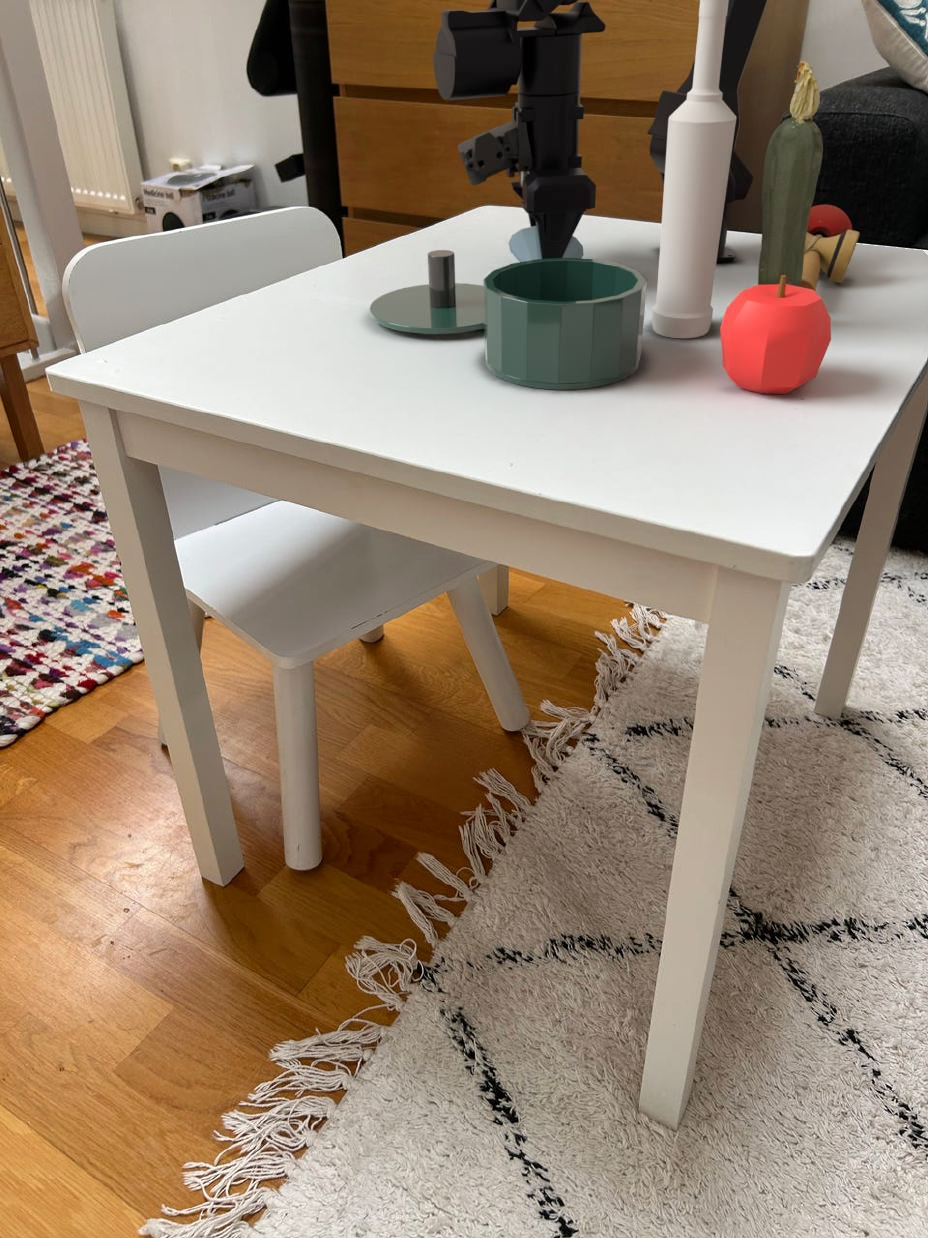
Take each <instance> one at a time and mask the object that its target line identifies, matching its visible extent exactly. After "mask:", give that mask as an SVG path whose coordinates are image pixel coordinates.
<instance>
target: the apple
mask: <svg viewBox="0 0 928 1238" xmlns="http://www.w3.org/2000/svg"><path fill="white" fill-rule="evenodd" d="M719 327H720V328H719V329H720V343H721V355H722V358H721V359H722V367H723V368H724V370H725V372H726V374H727V376H728V378H729V379H730V381H732V382H733V383H734V384H735V385H736V386H737V387H738V388H740V389H742V390H746V391H749V392H753V393H758V394H763V395H764V394H768V395H786V394H788V393H790V392H792V391H794V390H795V389H797V388H800V387H801V386H802V385H804V384H807V382H809V381H811V380H813V379H815V378H816V376H817V375H818V373H819V370H820V369H821V365H822V363H823V361H824V357H825V355H826V353H827V350H828V349H829V347H830V344H831V341H832V318H831V316H830V314H829V312H828V310H827V307H826V305H825V302H824V301H823V299H822V297H821V296H820V295H819V294H818V293H817V291H816V292H815V291H814V290H812V289H807V288H803V287H798V286H793V285H789V284H786V275H782V276H781V279H780V283H779V284H770V285H758V284H756V285H754V286H751V287H748V288H745V289H743V290H741V291H740V292H739V293H738V294H737V295H736V297H735V298H734V299H733V300H732V301H731V302H730V304H729V305H728V306H726V310H725V312H724V315H723V319H722V321H721V325H720V326H719Z"/></svg>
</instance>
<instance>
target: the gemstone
mask: <svg viewBox="0 0 928 1238" xmlns="http://www.w3.org/2000/svg"><path fill="white" fill-rule="evenodd" d="M508 247H509V251H510V253H511V254H512V255H513V256H514V257H515V259H516V260H517V261H518V263H519V262H525V261H531V260H536V259H542V258H541V252H540V245H539V238H538V232H537V226H533V227H531V226H528V227H525V228H521V229H519V230H518V231H517V232H514V233H513V234H512V235H511V236H510V239H509V241H508ZM584 254H585V253H584V245H582V243H581V242H580V241H579V239H578V238H577V237H575V236H574V235H573V236H572V238H571V240H570V242H569V244H568V247H567V249H566V251H565V253H564V255H563V258H580V259H583V257H584Z"/></svg>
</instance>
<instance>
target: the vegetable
mask: <svg viewBox="0 0 928 1238" xmlns="http://www.w3.org/2000/svg"><path fill="white" fill-rule="evenodd" d="M798 67H799V69H798V71H797V75H796V79H795V80H794V83H796V86H795V89H794V93H793V95H792V97H791V101H790V105H789V113H790V114H791V117H788V118H786V119H785V120H784V121H782V123H780V124H779V125H778V127H777V128H776V129H775V130H774V132H773V133H772V135H771V137H770V139H769V142H768V146H767V149H766V151H765V157H764V162H763V176H762V184H761V207H762V228H761V229H762V230H761V243H760V251H759V252H760V253H759V254H760V255H759V260H758V280H757V282H758V283H757V285H770V284H779V283H780V279H781V276H782V275H786V284H789V285H793V286H798V287H800V284H801V279H802V273H803V262H804V247H805V240H806V234H807V227H808V221H809V215H810V210H811V207H813V202H814V199H815V194H816V188H817V185H818V184H817V183H818V180H819V179H818V178H819V175H820V171H821V167H822V162H823V156H824V155H823V153H824V142H823V135H822V133H821V130H820V128H819V126H818V125H817V124H816V123H815V122H814V121H813V119H814V118H813V116H814V115H815V114H816V113H817V111H818V109H819V107H820V103H821V99H820V98H821V94H820V88H819V84H818V83H817V82H818V81H817V78H816V77H815V76H814V75H813V66H812V65H811V64H810V63H808V62H807V61H805V60H803V59H802V60H800V61H799V64H798V65H796V68H798Z"/></svg>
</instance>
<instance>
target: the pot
mask: <svg viewBox="0 0 928 1238" xmlns="http://www.w3.org/2000/svg"><path fill="white" fill-rule="evenodd" d="M647 285H648V280H647V279H646V277H645V276H644V275H643V274H642V272H641V271H639V270H638V269H635V268H633V267H630V266H628V265H625V264H624V263H623V264H622V263H619V262H613V261H607V260H603V259H602V260H601V259H596V258H581V259H580V258H552V259H536V260H531V261H525V262H519V261H518V262H513V263H510V264H508V265H504V266H501V267H498V268H496V269H494V270H492V271H491V272H490V273H488V275H487V276H486V277H484V278H483V286H484V329H483V331H484V332H483V333H484V355H485V356H484V357H485V365H486V367H487V370H489V372H490V373H492V374H493V375H494V376H496V377H498V378H500V379H501V380H503V381H505V382H508V383H511V384H515V385H519V386H523V387H527V388H528V387H529V388H535V389H540V390H541V389H542V390H556V391H557V390H558V391H559V390H561V391H563V390H564V391H565V390H568V391H569V390H584V389H585V390H586V389H591V388H599V387H603V386H607V385H611V384H614V383H617V382H620V381H622V380H624V379H627V378H629V377H630V376H631V375H633V374H634V373H635V372H636V371H637V370H638V368H639V365H640V358H641V357H642V349H643V337H644V336H643V335H644V323H645V313H646V311H645V310H646V299H647V288H648V287H647Z"/></svg>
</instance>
